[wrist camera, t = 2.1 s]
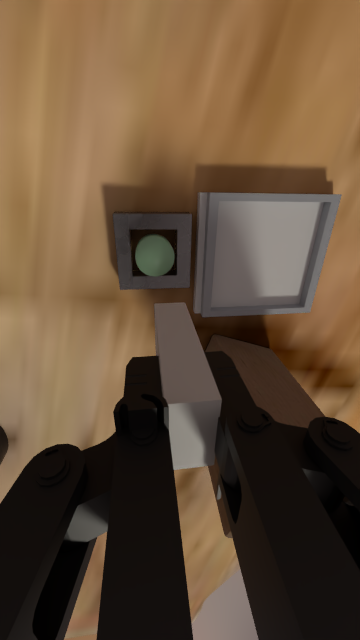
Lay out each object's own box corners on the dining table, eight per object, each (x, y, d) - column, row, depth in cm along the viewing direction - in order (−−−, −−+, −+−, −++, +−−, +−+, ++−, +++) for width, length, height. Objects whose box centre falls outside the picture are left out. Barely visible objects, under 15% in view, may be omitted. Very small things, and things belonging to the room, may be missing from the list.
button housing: (121, 282, 31) (119, 289, 29) (114, 211, 28) (112, 213, 26) (186, 281, 32) (189, 287, 30) (188, 212, 29) (192, 214, 27)
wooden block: (212, 332, 36) (280, 468, 19) (271, 347, 39) (379, 480, 21) (187, 385, 40) (223, 540, 22) (242, 396, 43) (313, 542, 25)
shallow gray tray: (193, 309, 34) (196, 317, 32) (197, 192, 28) (202, 192, 26) (304, 304, 36) (315, 312, 34) (333, 194, 30) (347, 194, 28)
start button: (136, 270, 29) (136, 277, 27) (134, 233, 27) (134, 237, 25) (172, 269, 30) (174, 276, 27) (172, 233, 28) (174, 237, 26)
